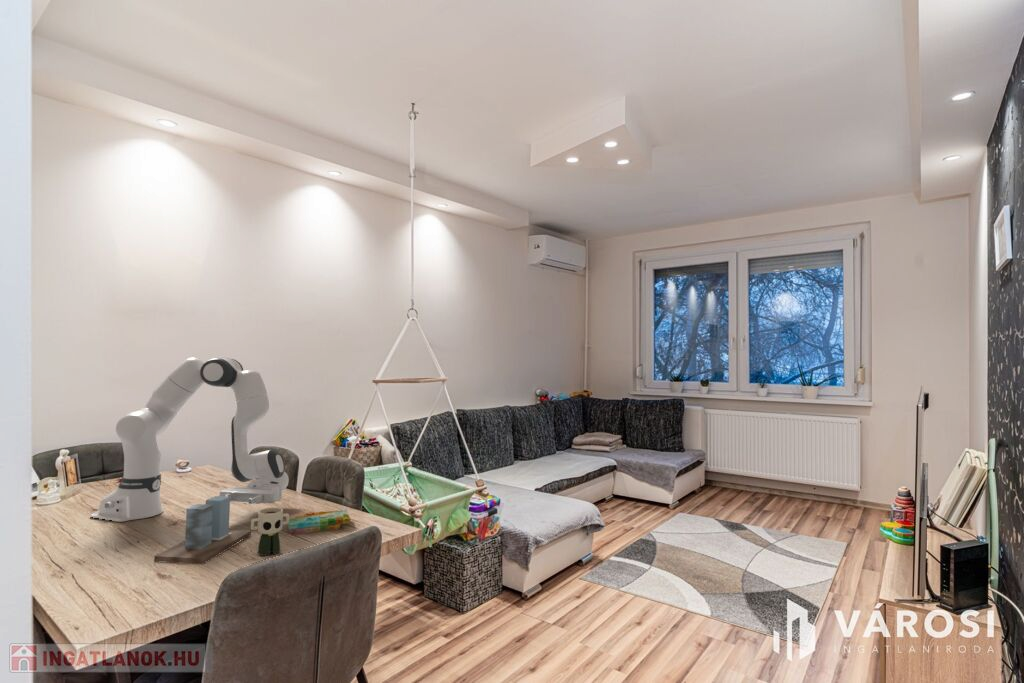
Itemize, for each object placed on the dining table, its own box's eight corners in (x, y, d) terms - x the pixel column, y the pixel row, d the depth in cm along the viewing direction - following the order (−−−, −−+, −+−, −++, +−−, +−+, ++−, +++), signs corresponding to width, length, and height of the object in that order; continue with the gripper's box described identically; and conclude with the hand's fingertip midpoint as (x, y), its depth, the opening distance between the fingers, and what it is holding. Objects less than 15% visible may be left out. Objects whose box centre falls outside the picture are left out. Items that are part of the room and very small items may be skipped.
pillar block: (204, 537, 164) (205, 500, 165) (213, 532, 169) (215, 496, 170) (219, 538, 164) (220, 500, 164) (228, 533, 169) (230, 496, 169)
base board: (154, 561, 149) (156, 514, 149) (207, 533, 173) (209, 493, 173) (203, 563, 148) (205, 516, 149) (250, 535, 172) (252, 494, 173)
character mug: (252, 560, 151) (253, 516, 152) (246, 553, 157) (248, 510, 157) (290, 552, 158) (292, 510, 158) (284, 545, 164) (286, 504, 164)
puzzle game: (288, 512, 184) (346, 507, 192) (287, 526, 183) (346, 520, 192) (289, 522, 173) (350, 516, 181) (288, 536, 173) (350, 529, 181)
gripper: (232, 481, 192) (208, 490, 178) (285, 483, 191) (265, 492, 177) (232, 498, 192) (208, 508, 178) (285, 500, 191) (265, 511, 177)
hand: (237, 500), depth 178 cm, fingers open, 8 cm apart
